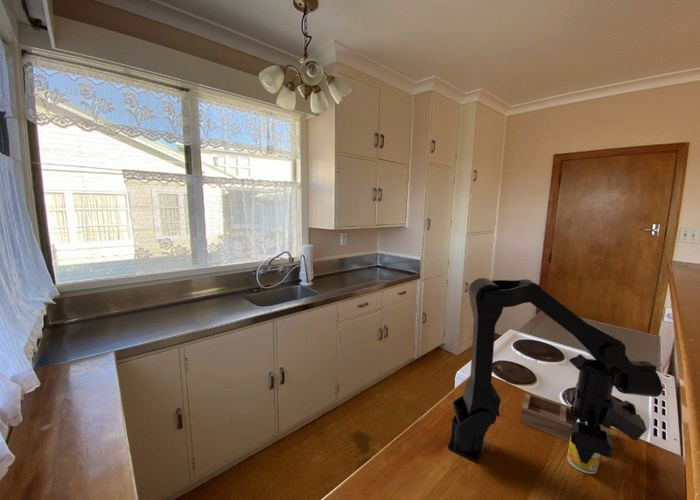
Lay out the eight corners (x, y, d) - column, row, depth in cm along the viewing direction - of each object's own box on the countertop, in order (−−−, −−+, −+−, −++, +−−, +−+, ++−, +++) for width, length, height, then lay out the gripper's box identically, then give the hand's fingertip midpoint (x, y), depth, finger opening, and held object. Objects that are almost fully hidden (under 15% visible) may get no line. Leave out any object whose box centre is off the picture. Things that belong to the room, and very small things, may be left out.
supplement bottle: (565, 450, 71) (571, 412, 70) (595, 461, 68) (601, 421, 67) (568, 467, 66) (574, 427, 65) (599, 479, 64) (606, 437, 62)
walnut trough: (607, 456, 70) (609, 440, 69) (520, 422, 80) (521, 409, 79) (603, 432, 77) (606, 418, 77) (524, 404, 87) (526, 391, 87)
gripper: (656, 431, 53) (641, 509, 55) (637, 382, 68) (625, 445, 70) (576, 405, 59) (565, 476, 61) (575, 365, 74) (566, 424, 76)
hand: (583, 453), depth 67 cm, fingers closed on supplement bottle, 5 cm apart
